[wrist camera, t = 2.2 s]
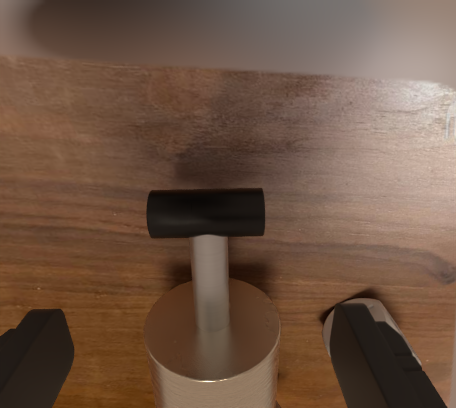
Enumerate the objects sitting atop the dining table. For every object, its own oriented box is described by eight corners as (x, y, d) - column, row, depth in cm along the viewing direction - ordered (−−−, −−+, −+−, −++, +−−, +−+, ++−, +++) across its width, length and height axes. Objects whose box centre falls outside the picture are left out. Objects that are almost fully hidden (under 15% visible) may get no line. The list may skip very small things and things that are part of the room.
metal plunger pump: (159, 382, 30) (124, 159, 21) (279, 379, 30) (296, 155, 21) (127, 550, 20) (30, 258, 11) (308, 545, 20) (364, 251, 11)
